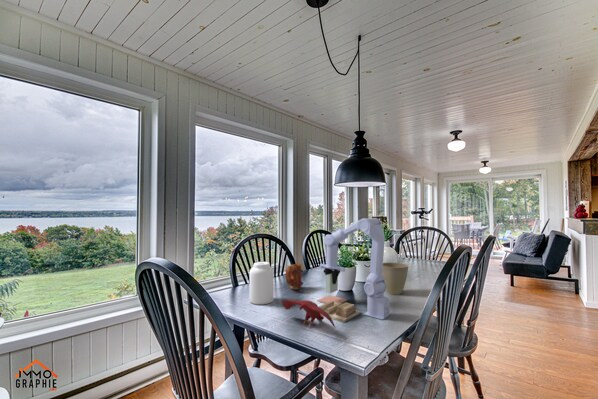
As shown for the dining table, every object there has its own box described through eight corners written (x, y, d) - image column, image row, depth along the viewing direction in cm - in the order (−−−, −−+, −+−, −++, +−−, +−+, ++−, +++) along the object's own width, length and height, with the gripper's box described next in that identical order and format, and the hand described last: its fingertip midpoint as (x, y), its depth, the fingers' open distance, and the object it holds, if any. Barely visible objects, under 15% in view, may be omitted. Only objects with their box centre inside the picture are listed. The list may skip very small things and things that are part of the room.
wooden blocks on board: (360, 313, 136) (360, 306, 136) (344, 322, 126) (344, 315, 126) (331, 305, 147) (331, 299, 147) (314, 313, 136) (314, 306, 136)
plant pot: (412, 296, 160) (412, 267, 161) (385, 296, 161) (384, 267, 161) (403, 289, 175) (403, 262, 175) (378, 289, 176) (378, 262, 176)
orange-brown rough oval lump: (294, 285, 183) (294, 261, 183) (305, 287, 179) (305, 262, 179) (280, 291, 170) (280, 265, 171) (292, 294, 166) (292, 267, 166)
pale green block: (337, 290, 156) (337, 273, 156) (330, 293, 151) (330, 275, 151) (333, 289, 157) (333, 272, 158) (326, 292, 152) (326, 274, 152)
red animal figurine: (290, 324, 134) (272, 305, 127) (300, 307, 139) (284, 287, 132) (339, 345, 114) (322, 324, 107) (349, 324, 119) (334, 302, 112)
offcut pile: (355, 312, 135) (355, 304, 135) (345, 317, 128) (345, 309, 128) (346, 309, 138) (346, 302, 138) (335, 315, 132) (335, 307, 132)
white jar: (244, 302, 152) (244, 263, 152) (258, 296, 163) (258, 259, 163) (264, 306, 146) (264, 266, 146) (278, 299, 157) (278, 261, 157)
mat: (346, 300, 154) (346, 299, 154) (334, 306, 146) (334, 304, 146) (329, 296, 162) (329, 295, 162) (317, 301, 153) (317, 300, 153)
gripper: (316, 256, 156) (316, 282, 156) (339, 260, 147) (339, 287, 146) (324, 255, 161) (324, 280, 161) (346, 258, 152) (347, 284, 152)
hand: (332, 283), depth 154 cm, fingers closed on pale green block, 2 cm apart
